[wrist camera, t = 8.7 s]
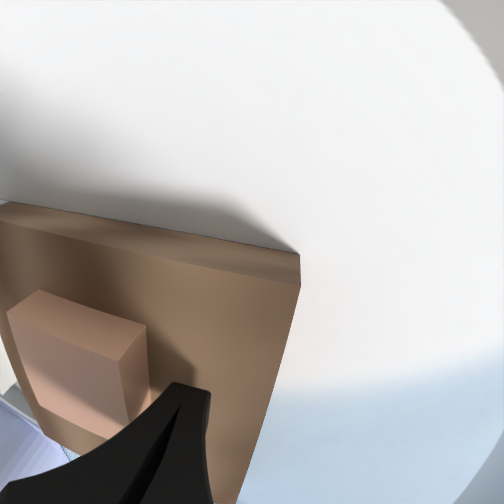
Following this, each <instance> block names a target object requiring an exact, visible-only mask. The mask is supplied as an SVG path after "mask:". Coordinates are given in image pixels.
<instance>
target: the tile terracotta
mask: <svg viewBox="0 0 504 504" xmlns="http://www.w3.org/2000/svg"><path fill="white" fill-rule="evenodd" d="M6 313H7V317H8V320H9V324H10V327H11V331H12V334H13V337H14V341H15V344H16V347H17V350H18V353H19V356H20V358H21V361H22V364H23V367H24V369H25V372H26V375H27V377H28V380H29V382H30V384H31V387H32V389H33V392H34V394H35V396H36V399H37V401H38V403H39V405H40V406H42V407H44V408H46V409H47V410H49V411H51V412H53V413H55V414H56V415H58V416H60V417H62V418H64V419H66V420H68V421H70V422H72V423H73V424H75V425H77V426H80V427H82V428H84V429H86V430H88V431H90V432H92V433H94V434H97V435H99V436H101V437H103V438H106V439H110V438H111V437H113V436H114V435H115V434H117V433H118V432H119V431H121V430H122V429H123V428H124V427H126V426H127V425H128V424H130V423H131V422H132V421H133V420H134V419H135V418H137V417H138V416H139V415H140V414H141V413H142V412H143V411H144V410H145V409H147V408H148V407H149V406H150V405H151V394H150V383H149V371H148V356H147V338H146V325H144V324H141V323H137V322H134V321H130V320H127V319H124V318H121V317H117V316H114V315H111V314H108V313H105V312H102V311H99V310H95V309H92V308H90V307H87V306H84V305H81V304H78V303H75V302H72V301H69V300H67V299H64V298H61V297H58V296H56V295H53V294H50V293H48V292H45V291H43V290H40V289H38V290H37V291H35V292H34V293H32V294H31V295H30V296H28V297H27V298H25V299H24V300H23V301H21V302H20V303H18V304H17V305H16V306H14V307H13V308H11V309H10V310H9V311H7V312H6Z"/></svg>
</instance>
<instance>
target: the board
mask: <svg viewBox="0 0 504 504" xmlns="http://www.w3.org/2000/svg"><path fill="white" fill-rule="evenodd" d="M300 287H301V274H300V254H295V253H289V252H284V251H279V250H274V249H268V248H263V247H258V246H253V245H247V244H242V243H237V242H231V241H226V240H221V239H215V238H210V237H205V236H199V235H194V234H188V233H183V232H178V231H172V230H167V229H161V228H156V227H150V226H145V225H139V224H134V223H128V222H123V221H117V220H112V219H106V218H101V217H95V216H90V215H84V214H78V213H73V212H67V211H62V210H56V209H50V208H45V207H39V206H33V205H28V204H22V203H16V202H9V203H6V204H3V205H0V335H1V338H2V341H3V344H4V347H5V350H6V353H7V356H8V358H9V361H10V363H11V366H12V369H13V371H14V373H15V376H16V378H17V381H18V383H19V385H20V388H21V390H22V392H23V394H24V396H25V399H26V401H27V403H28V405H29V407H30V409H31V411H32V413H33V415H34V417H35V419H36V421H37V423H38V424H39V426H40V428H41V430H42V432H43V433H44V435H45V436H46V437H48V438H50V439H51V440H53V441H55V442H57V443H58V444H60V445H62V446H64V447H66V448H67V449H69V450H71V451H73V452H75V453H77V454H79V455H81V456H82V455H84V454H86V453H88V452H90V451H91V450H93V449H95V448H96V447H98V446H99V445H101V444H103V443H104V442H106V441H107V440H108V439H106V438H103V437H101V436H99V435H97V434H94V433H92V432H90V431H88V430H86V429H84V428H82V427H80V426H77V425H75V424H73V423H72V422H70V421H68V420H66V419H64V418H62V417H60V416H58V415H56V414H55V413H53V412H51V411H49V410H47V409H46V408H44V407H42V406H40V405H39V403H38V401H37V399H36V396H35V394H34V392H33V389H32V387H31V384H30V382H29V380H28V377H27V375H26V372H25V369H24V367H23V364H22V361H21V358H20V356H19V353H18V350H17V347H16V344H15V341H14V337H13V334H12V331H11V327H10V324H9V320H8V317H7V313H6V312H7V311H9V310H10V309H11V308H13V307H14V306H16V305H17V304H18V303H20V302H21V301H23V300H24V299H25V298H27V297H28V296H30V295H31V294H32V293H34V292H35V291H37V290H38V289H40V290H43V291H45V292H48V293H50V294H53V295H56V296H58V297H61V298H64V299H67V300H69V301H72V302H75V303H78V304H81V305H84V306H87V307H90V308H92V309H95V310H99V311H102V312H105V313H108V314H111V315H114V316H117V317H121V318H124V319H127V320H130V321H134V322H137V323H141V324H144V325H146V338H147V356H148V371H149V383H150V394H151V404H152V403H153V402H154V401H155V400H156V399H157V398H158V397H159V396H160V395H161V394H162V392H163V391H164V390H165V389H166V388H167V387H168V386H169V385H170V383H172V382H177V383H181V384H185V385H188V386H192V387H196V388H200V389H204V390H208V391H209V392H210V393H211V403H210V412H209V422H208V427H207V431H206V436H205V438H206V459H207V469H208V477H209V483H210V489H211V494H212V499H213V502H214V503H218V504H236V501H237V498H238V495H239V493H240V490H241V487H242V484H243V481H244V478H245V476H246V473H247V470H248V467H249V464H250V461H251V458H252V455H253V452H254V449H255V446H256V443H257V440H258V437H259V434H260V430H261V427H262V424H263V421H264V418H265V415H266V411H267V408H268V405H269V401H270V398H271V395H272V391H273V388H274V385H275V381H276V378H277V374H278V371H279V367H280V364H281V360H282V356H283V353H284V349H285V346H286V342H287V338H288V334H289V331H290V327H291V323H292V319H293V315H294V311H295V307H296V304H297V300H298V295H299V291H300Z"/></svg>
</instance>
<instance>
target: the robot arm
mask: <svg viewBox="0 0 504 504" xmlns="http://www.w3.org/2000/svg"><path fill="white" fill-rule="evenodd" d="M210 403H211V393H210V392H209V391H208V390H204V389H200V388H196V387H192V386H188V385H185V384H181V383H177V382H172V383H170V385H169V386H168V387H167V388H166V389H165V390H164V391H163V392H162V394H161V395H160V396H159V397H158V398H157V399H156V400H155V401H154V402H153V403H152V404H151V405H150V406H149V407H148V408H147V409H145V410H144V411H143V412H142V413H141V414H140V415H139V416H138V417H137V418H135V419H134V420H133V421H132V422H131V423H130V424H128V425H127V426H126V427H124V428H123V429H122V430H121V431H119V432H118V433H117V434H115V435H114V436H113V437H111V438H110V439H108V440H107V441H106V442H104V443H103V444H101V445H99V446H98V447H96V448H95V449H93V450H91V451H90V452H88V453H86V454H84V455H82V456H80V457H78V458H76V459H75V460H72V461H69V459H68V457H67V456H66V454H65V452H64V451H63V449H62V447H61V445H60V444H58V443H57V442H55V441H53V440H51V439H50V438H48V437H46V436H45V435H44V433H43V432H42V430H41V428H40V426H38V425H37V424H35V423H34V422H32V421H30V420H29V419H27V418H26V417H24V416H23V415H21V414H20V413H18V412H17V411H15V410H14V409H12V408H11V407H10V406H8V405H7V404H5V403H4V402H3V401H1V400H0V504H213V499H212V494H211V489H210V483H209V477H208V469H207V459H206V438H205V436H206V431H207V427H208V422H209V412H210Z"/></svg>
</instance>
